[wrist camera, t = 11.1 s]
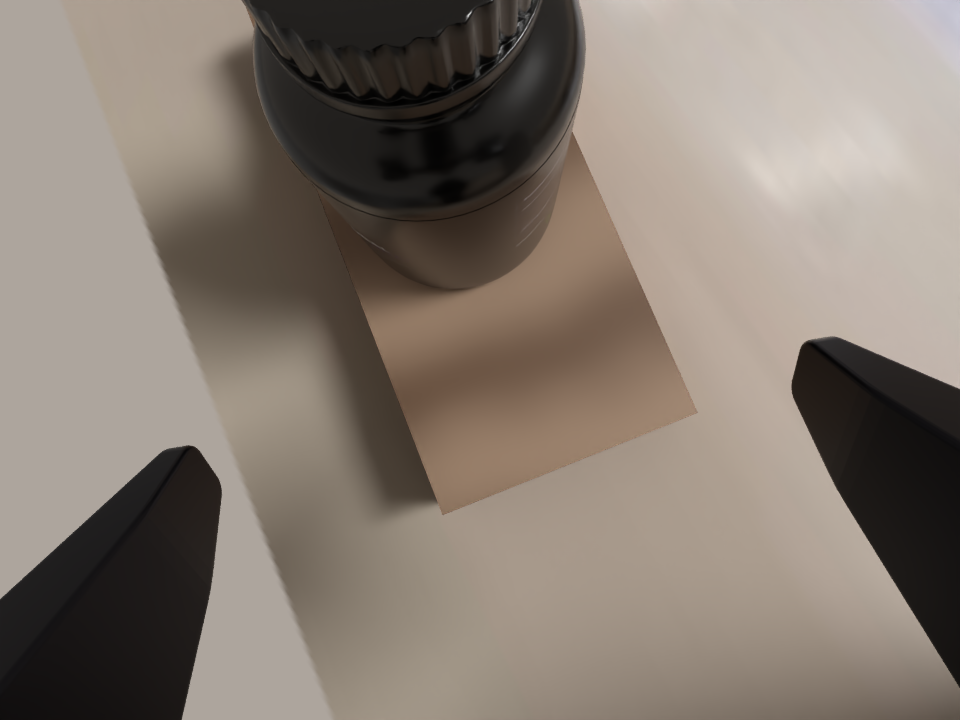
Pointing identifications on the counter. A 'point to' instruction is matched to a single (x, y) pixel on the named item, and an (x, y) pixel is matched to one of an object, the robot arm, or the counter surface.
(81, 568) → the robot arm
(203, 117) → the counter surface
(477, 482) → the walnut ledge
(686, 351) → the counter surface
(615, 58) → the counter surface
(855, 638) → the counter surface
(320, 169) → the supplement bottle
